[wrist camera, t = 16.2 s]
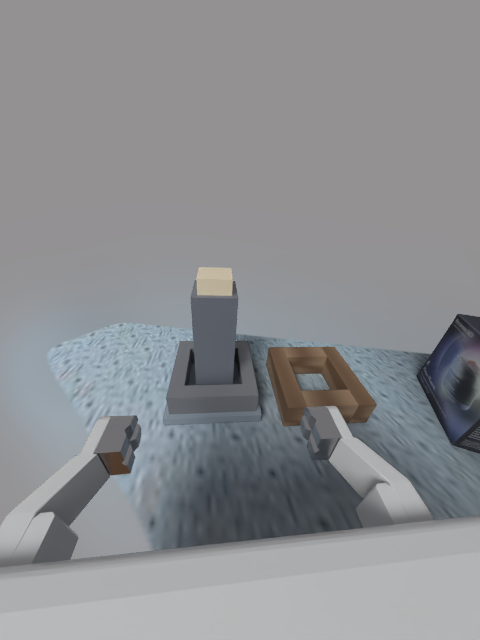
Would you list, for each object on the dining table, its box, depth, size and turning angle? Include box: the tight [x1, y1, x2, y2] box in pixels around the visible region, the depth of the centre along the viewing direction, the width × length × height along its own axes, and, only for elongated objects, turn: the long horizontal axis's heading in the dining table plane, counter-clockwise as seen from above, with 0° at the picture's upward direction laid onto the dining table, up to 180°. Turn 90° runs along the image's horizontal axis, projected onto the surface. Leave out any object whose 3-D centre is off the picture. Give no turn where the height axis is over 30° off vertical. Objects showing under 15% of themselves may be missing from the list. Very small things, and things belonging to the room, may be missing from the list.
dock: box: [163, 341, 262, 425], centre depth 26 cm, size 10×10×4 cm
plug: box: [191, 267, 238, 385], centre depth 23 cm, size 4×4×14 cm
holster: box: [266, 347, 377, 426], centre depth 26 cm, size 9×9×3 cm
